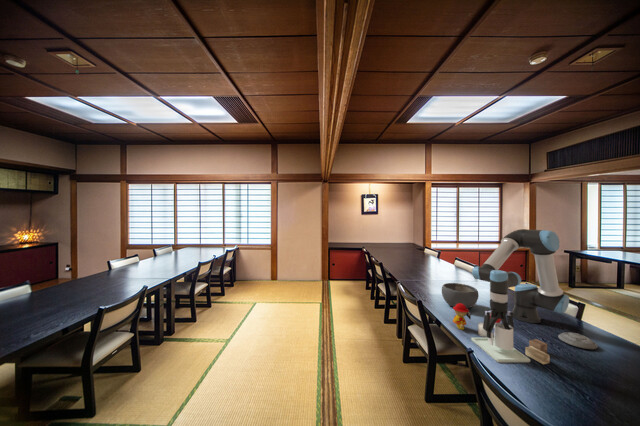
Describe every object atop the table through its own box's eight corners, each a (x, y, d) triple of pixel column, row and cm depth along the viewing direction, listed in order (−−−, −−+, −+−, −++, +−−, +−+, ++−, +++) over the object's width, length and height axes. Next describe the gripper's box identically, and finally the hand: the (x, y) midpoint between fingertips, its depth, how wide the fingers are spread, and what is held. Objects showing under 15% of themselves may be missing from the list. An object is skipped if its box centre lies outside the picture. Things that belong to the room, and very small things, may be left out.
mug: (511, 344, 126) (511, 324, 126) (515, 352, 119) (515, 331, 119) (483, 338, 132) (483, 319, 132) (485, 345, 125) (485, 325, 125)
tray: (499, 340, 136) (499, 337, 136) (530, 362, 116) (530, 359, 116) (471, 340, 136) (471, 337, 136) (497, 362, 116) (497, 359, 116)
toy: (472, 332, 144) (472, 307, 144) (456, 331, 146) (456, 306, 146) (465, 324, 155) (465, 301, 155) (450, 322, 157) (450, 299, 157)
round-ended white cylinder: (484, 332, 144) (484, 322, 144) (490, 337, 139) (490, 326, 139) (476, 332, 144) (476, 322, 144) (481, 337, 139) (481, 326, 139)
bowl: (478, 304, 189) (478, 285, 189) (478, 315, 168) (478, 294, 168) (443, 298, 202) (443, 280, 202) (439, 308, 181) (440, 288, 181)
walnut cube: (536, 348, 128) (536, 339, 128) (547, 353, 123) (547, 344, 123) (529, 349, 127) (529, 340, 127) (540, 355, 122) (540, 345, 122)
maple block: (531, 353, 123) (531, 346, 123) (549, 363, 115) (549, 355, 115) (525, 355, 122) (525, 347, 122) (543, 364, 115) (543, 356, 114)
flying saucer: (592, 354, 123) (592, 343, 123) (553, 340, 136) (553, 331, 136) (602, 347, 130) (602, 336, 130) (564, 334, 143) (564, 325, 143)
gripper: (512, 298, 130) (511, 340, 130) (474, 297, 129) (474, 340, 130) (524, 303, 122) (523, 348, 122) (484, 303, 122) (483, 347, 122)
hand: (498, 343), depth 126 cm, fingers closed on mug, 7 cm apart
